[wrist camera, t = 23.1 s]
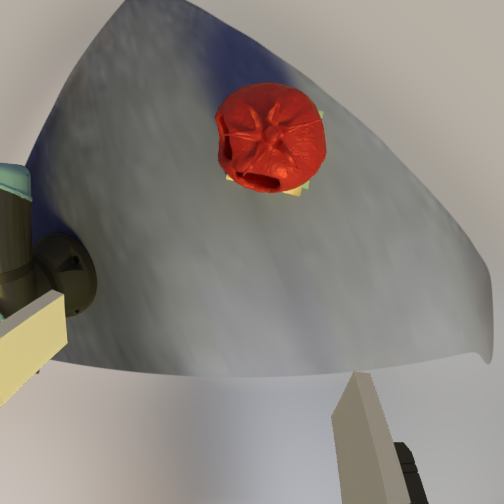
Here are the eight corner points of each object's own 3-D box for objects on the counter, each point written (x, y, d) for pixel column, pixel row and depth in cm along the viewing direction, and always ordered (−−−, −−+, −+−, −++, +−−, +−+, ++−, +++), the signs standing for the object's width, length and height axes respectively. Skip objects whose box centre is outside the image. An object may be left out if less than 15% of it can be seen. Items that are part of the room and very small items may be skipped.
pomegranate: (280, 76, 28) (280, 39, 19) (341, 154, 29) (366, 145, 20) (201, 133, 30) (170, 118, 21) (261, 211, 31) (253, 226, 22)
